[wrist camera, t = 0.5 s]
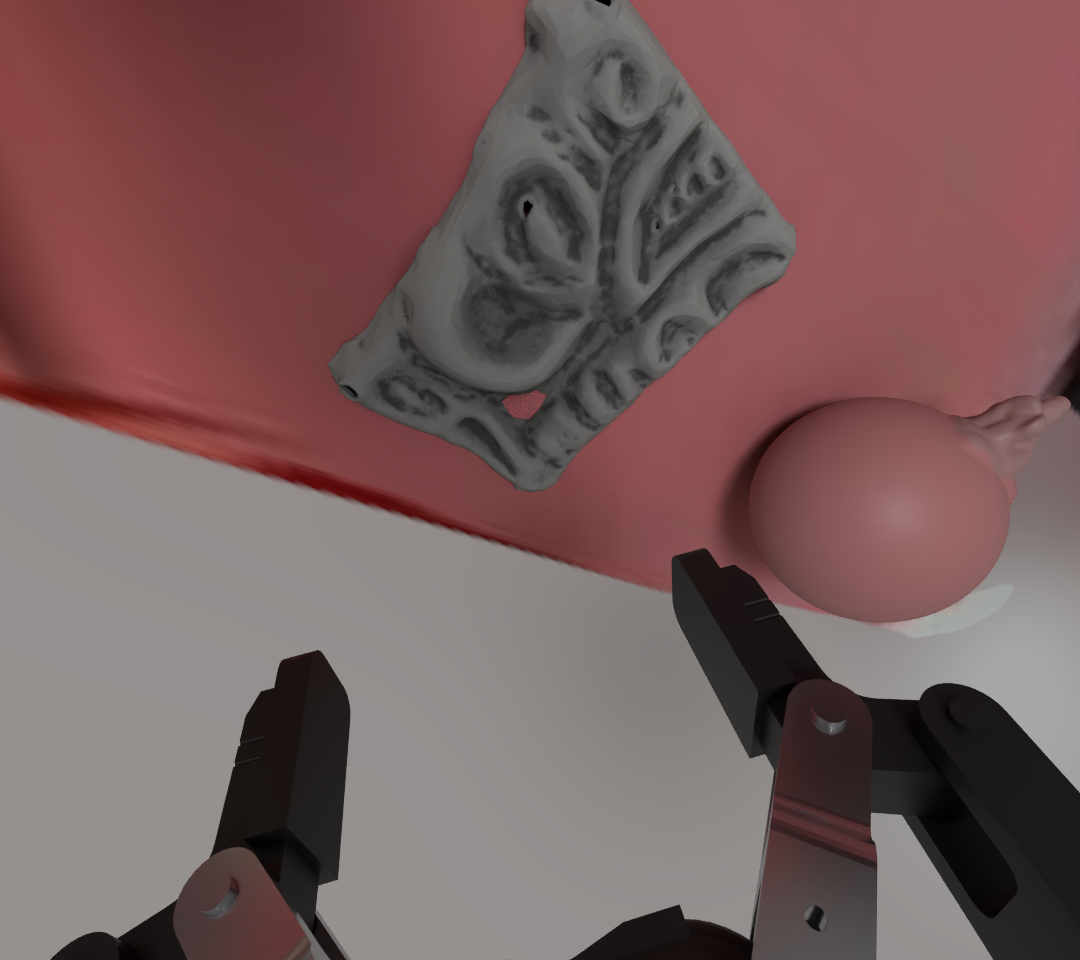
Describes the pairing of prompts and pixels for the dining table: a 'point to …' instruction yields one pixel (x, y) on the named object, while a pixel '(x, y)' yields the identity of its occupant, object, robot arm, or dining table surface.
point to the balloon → (892, 502)
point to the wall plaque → (569, 252)
